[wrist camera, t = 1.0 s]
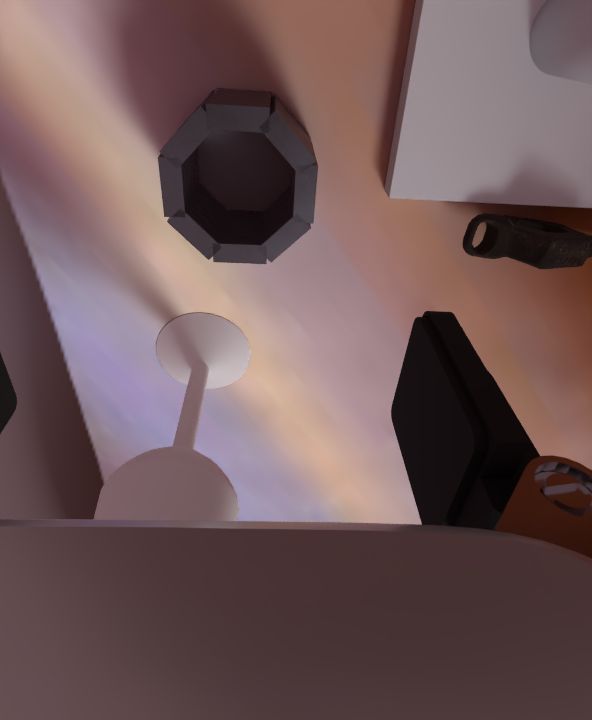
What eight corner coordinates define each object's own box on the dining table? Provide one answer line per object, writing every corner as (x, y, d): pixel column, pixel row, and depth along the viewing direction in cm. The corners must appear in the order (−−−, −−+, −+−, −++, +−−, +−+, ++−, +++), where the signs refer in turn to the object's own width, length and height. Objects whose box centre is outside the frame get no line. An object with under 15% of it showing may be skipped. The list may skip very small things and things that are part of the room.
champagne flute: (252, 315, 32) (213, 779, 13) (250, 390, 36) (217, 832, 17) (151, 309, 31) (-51, 784, 12) (160, 387, 35) (19, 838, 16)
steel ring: (305, 230, 28) (309, 265, 24) (184, 224, 28) (169, 260, 24) (315, 94, 24) (322, 110, 20) (172, 85, 24) (151, 100, 20)
